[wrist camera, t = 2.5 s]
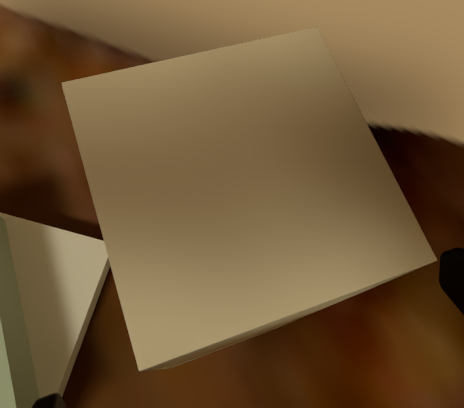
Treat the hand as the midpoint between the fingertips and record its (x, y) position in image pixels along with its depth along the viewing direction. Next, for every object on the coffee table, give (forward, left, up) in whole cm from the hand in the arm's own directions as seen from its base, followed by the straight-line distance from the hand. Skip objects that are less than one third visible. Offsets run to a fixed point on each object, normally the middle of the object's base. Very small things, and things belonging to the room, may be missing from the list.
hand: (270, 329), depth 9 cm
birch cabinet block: (+2, +2, -10) cm, 10 cm away
